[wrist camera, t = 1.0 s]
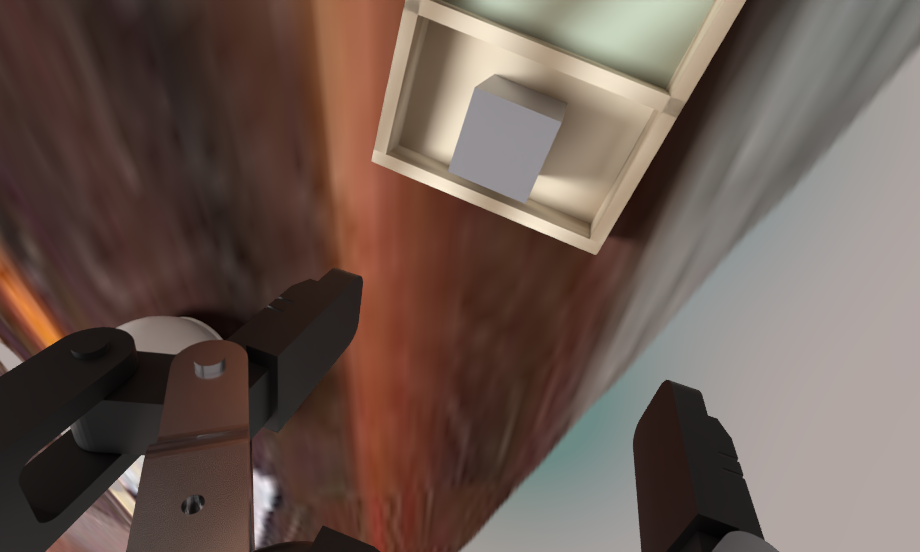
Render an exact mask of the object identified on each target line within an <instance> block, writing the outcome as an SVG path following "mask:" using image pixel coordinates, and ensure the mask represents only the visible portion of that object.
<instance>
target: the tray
mask: <svg viewBox="0 0 920 552" xmlns="http://www.w3.org/2000/svg"><path fill="white" fill-rule="evenodd" d="M745 2H746V0H405V5H404V10H403V14H402V19H401V24H400V29H399V33H398V38H397V43H396V47H395V52H394V57H393V62H392V66H391V71H390V76H389V80H388V85H387V90H386V95H385V99H384V104H383V109H382V114H381V118H380V123H379V128H378V132H377V137H376V142H375V147H374V151H373V156H372V162H374V163H377V164H379V165H381V166H384V167H386V168H389V169H391V170H393V171H396V172H398V173H401V174H403V175H405V176H408V177H410V178H413V179H415V180H417V181H420V182H422V183H425V184H427V185H429V186H432V187H434V188H436V189H439V190H441V191H444V192H446V193H448V194H451V195H453V196H456V197H458V198H460V199H463V200H465V201H468V202H470V203H472V204H475V205H477V206H480V207H482V208H484V209H487V210H489V211H492V212H494V213H496V214H499V215H501V216H503V217H506V218H508V219H511V220H513V221H515V222H518V223H520V224H523V225H525V226H527V227H530V228H532V229H535V230H537V231H539V232H542V233H544V234H547V235H549V236H551V237H554V238H556V239H558V240H561V241H563V242H566V243H568V244H570V245H573V246H575V247H578V248H580V249H582V250H585V251H587V252H590V253H592V254H594V255H597V253H598V251H599V250H600V248H601V246H602V244H603V243H604V241H605V239H606V238H607V236H608V234H609V233H610V231H611V229H612V227H613V226H614V224H615V222H616V221H617V219H618V217H619V216H620V214H621V212H622V210H623V209H624V207H625V205H626V204H627V202H628V200H629V199H630V197H631V195H632V193H633V192H634V190H635V188H636V187H637V185H638V183H639V182H640V180H641V178H642V176H643V175H644V173H645V171H646V170H647V168H648V166H649V165H650V163H651V161H652V159H653V158H654V156H655V154H656V153H657V151H658V149H659V148H660V146H661V144H662V143H663V141H664V139H665V137H666V136H667V134H668V132H669V131H670V129H671V127H672V126H673V124H674V122H675V120H676V119H677V117H678V115H679V114H680V112H681V110H682V109H683V107H684V105H685V103H686V102H687V100H688V98H689V97H690V95H691V93H692V92H693V90H694V88H695V86H696V85H697V83H698V81H699V80H700V78H701V76H702V75H703V73H704V71H705V69H706V68H707V66H708V64H709V63H710V61H711V59H712V58H713V56H714V54H715V52H716V51H717V49H718V47H719V46H720V44H721V42H722V41H723V39H724V37H725V35H726V34H727V32H728V30H729V29H730V27H731V25H732V24H733V22H734V20H735V19H736V17H737V15H738V13H739V12H740V10H741V8H742V7H743V5H744V3H745ZM494 74H496V75H498V76H501V77H503V78H506V79H508V80H511V81H513V82H516V83H518V84H521V85H523V86H526V87H528V88H531V89H533V90H535V91H538V92H540V93H543V94H545V95H548V96H550V97H553V98H555V99H558V100H560V101H563V102H565V103H568V104H567V107H566V110H565V114H564V117H563V120H562V123H561V125H560V128H559V130H558V132H557V134H556V137H555V139H554V141H553V143H552V146H551V148H550V150H549V152H548V155H547V157H546V159H545V161H544V164H543V166H542V168H541V170H540V173H539V175H538V177H537V179H536V182H535V184H534V186H533V188H532V191H531V193H530V195H529V197H528V200H527V202H526V204H524V203H522V202H519V201H517V200H515V199H512V198H510V197H507V196H505V195H503V194H500V193H498V192H495V191H493V190H491V189H488V188H486V187H483V186H481V185H479V184H476V183H474V182H471V181H469V180H467V179H464V178H462V177H459V176H457V175H455V174H452V173H450V172H448V169H449V166H450V163H451V160H452V157H453V154H454V151H455V147H456V144H457V141H458V138H459V135H460V132H461V129H462V126H463V122H464V119H465V116H466V113H467V110H468V107H469V104H470V100H471V97H472V94H473V91H474V88H475V87H476V86H477V85H479V84H480V83H482V82H483V81H485V80H486V79H488V78H489V77H491V76H492V75H494Z"/></svg>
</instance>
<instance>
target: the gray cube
mask: <svg viewBox="0 0 920 552" xmlns="http://www.w3.org/2000/svg"><path fill="white" fill-rule="evenodd" d="M567 104H568V103H565V102H563V101H560V100H558V99H555V98H553V97H550V96H548V95H545V94H543V93H540V92H538V91H535V90H533V89H531V88H528V87H526V86H523V85H521V84H518V83H516V82H513V81H511V80H508V79H506V78H503V77H501V76H498V75H496V74H494V75H492V76H491V77H489V78H488V79H486V80H485V81H483V82H482V83H480V84H479V85H477V86H476V87H475V88H474V91H473V94H472V97H471V100H470V104H469V107H468V110H467V113H466V116H465V119H464V122H463V126H462V129H461V132H460V135H459V138H458V141H457V144H456V147H455V151H454V154H453V157H452V160H451V163H450V166H449V169H448V172H450V173H452V174H455V175H457V176H459V177H462V178H464V179H467V180H469V181H471V182H474V183H476V184H479V185H481V186H483V187H486V188H488V189H491V190H493V191H495V192H498V193H500V194H503V195H505V196H507V197H510V198H512V199H515V200H517V201H519V202H522V203H524V204H526V202H527V200H528V197H529V195H530V193H531V191H532V188H533V186H534V184H535V182H536V179H537V177H538V175H539V173H540V170H541V168H542V166H543V164H544V161H545V159H546V157H547V155H548V152H549V150H550V148H551V146H552V143H553V141H554V139H555V137H556V134H557V132H558V130H559V128H560V125H561V123H562V120H563V117H564V114H565V110H566V107H567Z"/></svg>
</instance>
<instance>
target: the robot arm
mask: <svg viewBox="0 0 920 552" xmlns="http://www.w3.org/2000/svg"><path fill="white" fill-rule="evenodd" d="M362 287H363V279H362V277H361V276H359V275H356V274H353V273H350V272H347V271H344V270H341V269H338V268H333V269H331V270H330V271H329V272H328V273H327V274H326V275H324V276H323V277H322V278H321V279H320V280H319V281H315V280H312V279H309V280H306V281H303V282H301V283H298V284H295V285H293V286H291V287H290V288H289V289H287V290H286V291H285V292H284V293H282V294H281V295H280V296H279V298H278V299H275V300H274V301H273V302H271V303H270V304H269V305H268V307H267V308H264V309H263V310H262V311H260V312H259V313H258V314H257V315H256V316H254V317H253V318H252V319H251V320H250V321H248V322H247V323H246V324H245V325H243V326H242V327H241V328H240V329H239V330H237V331H236V332H235V333H234V334H232V335H231V336H230V337H229V338H228V339H226V340H208V341H202V342H199V343H196V344H193V345H191V346H188V347H187V348H185V349H183V350H182V351H181V352H179V353H178V354H165V353H155V352H144V351H136V346H135V341H134V339H133V337H132V336H131V335H130V334H129V333H128V332H126V331H124V330H121V329H117V328H110V327H100V328H91V329H86V330H82V331H79V332H76V333H73V334H70V335H68V336H66V337H64V338H62V339H60V340H59V341H57V342H55V343H54V344H52V345H51V346H49V347H47V348H46V349H44V350H42V351H41V352H39V353H38V354H36V355H34V356H33V357H31V358H30V359H28V360H26V361H25V362H23V363H21V364H20V365H18V366H17V367H15V368H13V369H12V370H10V371H9V372H7V373H5V374H4V375H2V376H0V552H45V551H46V550H47V549H48V548H49V547H50V546H51V545H52V544H53V543H54V542H55V541H56V540H57V539H58V538H59V537H60V536H61V535H62V534H63V533H64V532H65V531H66V530H67V529H68V528H69V527H70V526H71V525H72V524H73V523H74V522H75V521H76V520H77V519H78V518H79V517H80V516H81V515H82V514H83V513H84V512H85V511H86V510H87V509H88V508H89V507H90V506H91V505H92V504H93V503H94V502H95V501H96V500H97V499H98V498H99V497H100V496H101V495H102V494H103V493H104V492H105V491H106V490H107V489H108V488H109V487H110V486H111V485H112V484H113V483H114V482H115V481H116V480H117V479H118V478H119V477H120V476H121V475H122V474H123V473H124V472H125V471H126V470H127V469H128V468H129V467H130V466H131V465H132V464H133V463H134V462H135V461H136V460H137V459H138V458H139V457H140V456H141V455H145V458H144V462H143V468H142V473H141V478H140V483H139V488H138V493H137V498H136V504H135V509H134V514H133V519H132V524H131V529H130V535H129V540H128V545H127V550H126V552H380V551H379V550H377V549H376V548H375V547H373V546H371V545H369V544H366V543H364V542H361V541H359V540H357V539H354V538H352V537H349V536H347V535H345V534H342V533H340V532H337V531H335V530H333V529H330V528H328V527H325V526H322V528H321V530H320V532H319V533H318V535H317V537H316V539H315V541H314V542H310V541H292V542H285V543H278V544H274V545H270V546H267V547H263V548H260V549H258V550H255V540H254V505H253V449H252V438H253V437H254V436H255V435H256V434H257V433H258V431H259V430H260V429H261V428H262V427H264V428H267V429H269V430H272V431H274V432H277V433H279V431H280V430H281V429H282V428H283V426H284V425H285V424H286V423H287V421H288V420H289V419H290V418H291V416H292V415H293V414H294V413H295V411H296V410H297V409H298V408H299V406H300V405H301V404H302V403H303V401H304V400H305V399H306V398H307V397H308V395H309V394H310V393H311V392H312V390H313V389H314V388H315V387H316V385H317V384H318V383H319V382H320V380H321V379H322V378H323V377H324V375H325V374H326V373H327V372H328V370H329V369H330V368H331V367H332V365H333V364H334V363H335V362H336V360H337V359H338V358H339V357H340V355H341V354H342V353H343V352H344V351H345V349H346V348H347V347H348V346H349V344H350V343H351V341H352V339H353V338H354V335H355V333H356V330H357V327H358V322H359V314H360V305H361V296H362ZM69 426H70V427H71V429H70V430H69V431H67V432H66V433H65V434H64V435H62V436H61V437H60V438H59V439H57V440H56V441H55V442H54V443H53V444H51V445H50V446H49V447H48V448H46V449H45V450H44V451H43V452H41V453H40V454H39V455H38V456H37V457H35V458H34V459H33V460H32V461H30V462H29V463H28V464H27V465H25V464H26V463H27V462H28V461H29V460H30V458H31V457H32V456H34V455H35V454H36V453H37V452H38V451H40V450H41V449H42V448H43V447H45V446H46V445H47V444H48V443H49V442H51V441H52V440H53V439H54V438H56V437H57V436H58V435H59V434H61V433H62V432H63V431H64V430H66V429H67V428H68V427H69ZM633 452H634V465H635V476H636V489H637V502H638V514H639V526H640V538H641V552H779V551H778V550H777V549H775V548H774V547H773V546H772V545H770V544H769V543H768V542H766V541H765V540H764V537H763V534H762V531H761V528H760V525H759V522H758V519H757V515H756V512H755V509H754V506H753V503H752V500H751V497H750V494H749V491H748V487H747V484H746V481H745V479H743V472H742V469H741V466H740V463H739V462H737V460H738V457H737V454H736V451H735V447H734V445H733V441H732V438H731V437H730V436H729V434H728V433H727V432H726V430H725V429H724V428H723V426H722V425H721V423H720V422H719V421H718V419H717V418H713V417H711V416H708V415H707V411H706V407H705V404H704V400H703V396H702V394H701V392H700V391H699V390H696V389H693V388H690V387H687V386H684V385H681V384H678V383H675V382H672V381H670V380H666V381H664V382H663V383H662V384H661V386H660V387H659V389H658V390H657V392H656V394H655V395H654V397H653V399H652V400H651V402H650V404H649V405H648V407H647V409H646V410H645V412H644V414H643V415H642V417H641V419H640V420H639V422H638V424H637V427H636V430H635V434H634V439H633Z"/></svg>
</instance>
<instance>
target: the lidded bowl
mask: <svg viewBox="0 0 920 552" xmlns="http://www.w3.org/2000/svg"><path fill="white" fill-rule="evenodd" d="M117 329H121V330H124V331H126V332H128V333H129V334H130V335H131V336H132V337H133V339H134V341H135V346H136V351H144V352H155V353H165V354H178V353H179V352H181V351H182V350H183V349H185V348H187V347H188V346H191V345H193V344H196V343H199V342H202V341H208V340H223V339H222V338H221V336H220V335H219V334H218V333H217V332H216V331H215V330H214V329H212V328H211V327H210V326H208V325H207V324H205V323H204V322H202V321H200V320H197V319H195V318H191V317H173V316H150V317H145V318H141V319H137V320H133V321H131V322H128V323H126V324H123V325H121V326H119V327H117Z"/></svg>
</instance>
